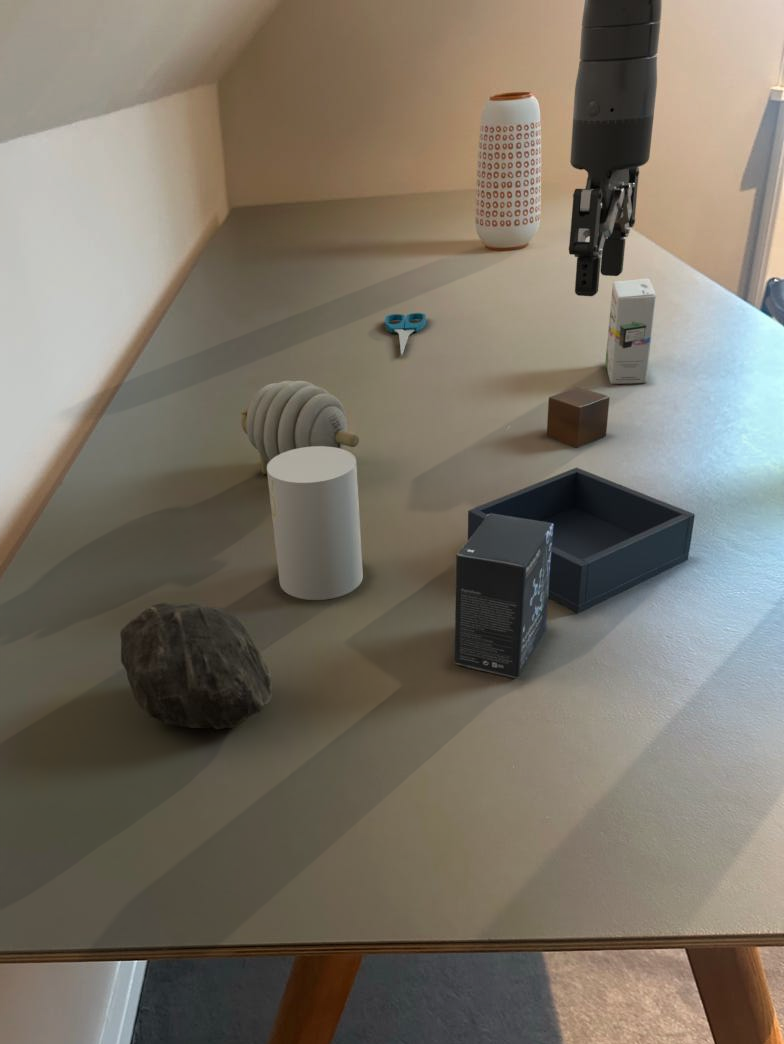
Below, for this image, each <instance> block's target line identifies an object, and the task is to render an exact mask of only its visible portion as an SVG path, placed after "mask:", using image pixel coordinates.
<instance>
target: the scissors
mask: <svg viewBox="0 0 784 1044" xmlns="http://www.w3.org/2000/svg"><path fill="white" fill-rule="evenodd" d="M426 316H427V315H426V314H425V313H423V312H412V313H408V314H407V315H404V314H402V313H392V314H388V315H386V316H385V319H384V325H385V329H386V330H387V331H388V332H389V333H391V334H397V335H398V339H399V348H400V356H401V357H403V354H404V351H405V348H406V345H407V342H408V340H409V336H410V335H411V334H412V333H417V332H420V331H421V330H422V329H423V328H424V327H425V326H426V322H427V321H426V319H427V318H426ZM415 320H420V321H419V322H410V321H415ZM394 321H399V322H398V323H390V322H394Z"/></svg>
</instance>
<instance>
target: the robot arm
mask: <svg viewBox="0 0 784 1044" xmlns="http://www.w3.org/2000/svg"><path fill="white" fill-rule="evenodd" d="M662 2H663V0H584V6H583V12H582V18H581V19H582V20H581V32H580V50H579V61H578V69H577V74H576V81H575V86H574V95H573V96H574V97H573V113H572V130H571V145H570V146H571V147H570V159H569V161H570V162H569V163H570V165H571V166H572V168H574V169H576V170H580V171H582V170H584V171H585V172H586V173H587V178H586V183H585V187H584V188H575V189H574V191H573V194H572V209H571V219H570V230H569V231H570V232H569V243H568V244H569V246H568V253H569V255H573V256H574V257H575V258H576V271H575V283H574V293H575V295H577V296H580V297H594V296H595V295H596V294H598V292H599V287H600V275H602V276H606V277H618V276H620V275H621V274H622V273H623V270H624V260H625V250H626V249H625V248H626V238H628V237H629V234H630V233H631V228H633V227H634V226H635V223H636V212H637V211H636V208H637V200H638V199H637V196H638V186H639V176H640V168H639V167H643V166H644V165H647V163H648V162H649V160H650V157H651V146H652V137H653V127H654V118H655V106H656V97H657V87H658V52H659V42H660V41H659V40H660V33H661V32H660V31H661V23H662V22H661V20H662V8H663V7H662ZM588 237H589V241H586V240H587V238H588Z"/></svg>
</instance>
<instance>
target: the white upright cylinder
mask: <svg viewBox="0 0 784 1044" xmlns="http://www.w3.org/2000/svg"><path fill="white" fill-rule="evenodd" d="M357 468H358V467H357V457H356V456H355V455H354V454H353V453H351V452H350V451H349V450H347V449H343V448H342V449H340V448H335V447H327V446H312V447H303V448H298V449H293V450H290V451H287V452H284V453H281V454H279V455H277V456H276V457H274V458H273V459H272V460H270V462H269V463H268V465H267V474H266V475H267V483H268V492H269V500H270V501H269V502H270V509H271V518H272V526H273V535H274V544H275V553H276V554H275V555H276V562H277V563H276V564H277V570H278V571H277V573H278V580H279V587H280V588H281V590H282V591H283V592H284V593H286V594H288V595H289V596H292V597H293V598H296V599H300V600H307V601H325V600H330V599H336V598H340V597H342V596H345V595H348V594H350V593H352V592H353V591H355V590H356V589H357V588H358V587H359V586H360V585H361V584H362V582H363V578H364V573H363V557H362V556H363V555H362V541H361V540H362V539H361V537H362V536H361V521H360V505H359V504H360V503H359V486H358V469H357Z"/></svg>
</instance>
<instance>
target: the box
mask: <svg viewBox="0 0 784 1044" xmlns="http://www.w3.org/2000/svg"><path fill="white" fill-rule="evenodd" d="M552 537H553V523H548V522H542V521H536V520H530V519H523V518H517V517H511V516H505V515H499V514H493V513H490V514H488V515H487V517H486V518H485V520H484V521H483V522H482V524H481V525H480V526H479V528H478V529H477V530H476V532H475V533H474V534H473V535H472V537H471V538H470V539H469V540H468V539H467V541H466V543H465V544H464V545H463V546H462V548H460V550H458V552H457V553H456V563H455V609H454V610H455V612H454V616H455V617H454V618H455V619H454V664H456V665H459V666H463V667H467V668H469V669H471V668H472V669H474V670H478V671H483V672H486V673H491V674H496V675H500V676H505V677H509V678H512V679H517V678H518V677H519V676H520V675H521V673H522V672H523V669H524V668H525V666H526V665H527V663H528V661H529V659H530V658H531V656H532V654H533V652H534V651H535V649H536V647H537V645H538V644H539V642H540V641H541V639H542V637H543V635H544V634H545V633H546V632H547V631H546V630H547V620H548V619H547V618H548V606H549V605H548V604H549V598H548V593H549V577H550V564H551V549H552Z"/></svg>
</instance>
